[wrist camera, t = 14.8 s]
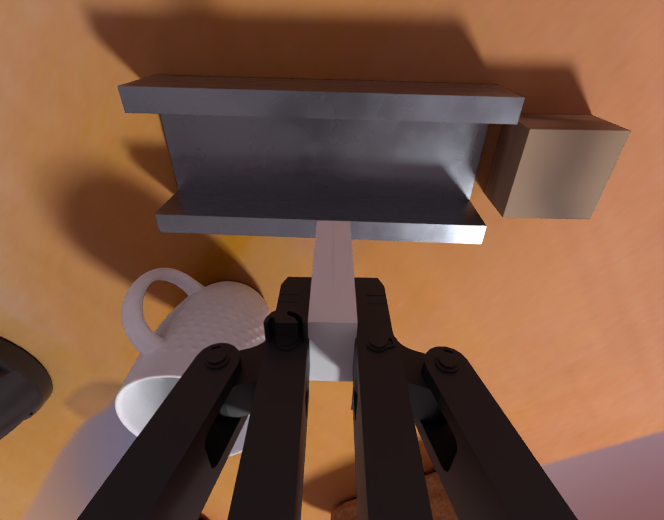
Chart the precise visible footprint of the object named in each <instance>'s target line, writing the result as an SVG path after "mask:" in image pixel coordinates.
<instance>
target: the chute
mask: <svg viewBox="0 0 664 520" xmlns="http://www.w3.org/2000/svg"><path fill="white" fill-rule="evenodd" d="M118 90H119V93H120V97H121V100H122V104H123V107H124V110H125V113H153V114H160V115H161V119H162V124H163V128H164V132H165V136H166V140H167V145H168V149H169V153H170V157H171V162H172V166H173V170H174V174H175V178H176V183H177V187H178V191H177V192H176V193H175V194H174V195H173V196H172V197H171V198H170V199H169V200H168V201H167V202H166V203H165V204H164V205H163V206H162V207H161V208H160V209H159V210H158V211H157V212H156V213H155V217H156V221H157V224H158V228H159V231H160V232H167V233H194V234H222V235H249V236H277V237H304V238H315V237H316V226H317V221H350V227H351V239H359V240H386V241H414V242H441V243H468V244H481V243H482V239H483V236H484V233H485V230H486V225H485V223H484V222H483V220H482V219H481V217H480V215H479V214H478V212H477V211H476V209H475V208H474V206H473V205H472V203H471V202H470V200H469V199H470V195H471V191H472V188H473V184H474V180H475V176H476V172H477V168H478V164H479V160H480V156H481V153H482V149H483V145H484V141H485V137H486V133H487V129H488V125H489V124H517V123H518V120H519V116H520V113H521V110H522V106H523V103H524V100H525V97H523V96H521V95H518V94H516V93H514V92H512V91H510V90H508V89H505V88H503V87H501V86H499V85H497V84H474V83H438V82H403V81H367V80H331V79H295V78H259V77H223V76H187V75H152V76H149V77H145V78H142V79H139V80H135V81H132V82H129V83H126V84H122V85H119V86H118Z"/></svg>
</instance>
